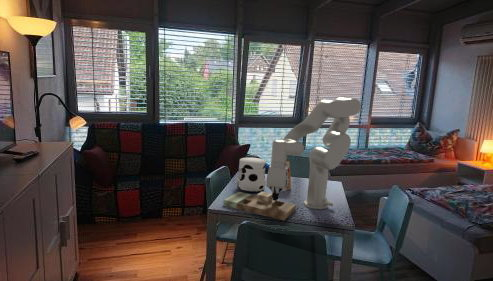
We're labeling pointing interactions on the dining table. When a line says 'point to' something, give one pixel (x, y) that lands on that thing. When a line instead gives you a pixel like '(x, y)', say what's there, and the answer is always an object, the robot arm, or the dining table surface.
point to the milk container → (251, 175)
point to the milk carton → (288, 176)
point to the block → (264, 197)
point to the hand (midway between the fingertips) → (275, 199)
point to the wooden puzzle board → (260, 206)
